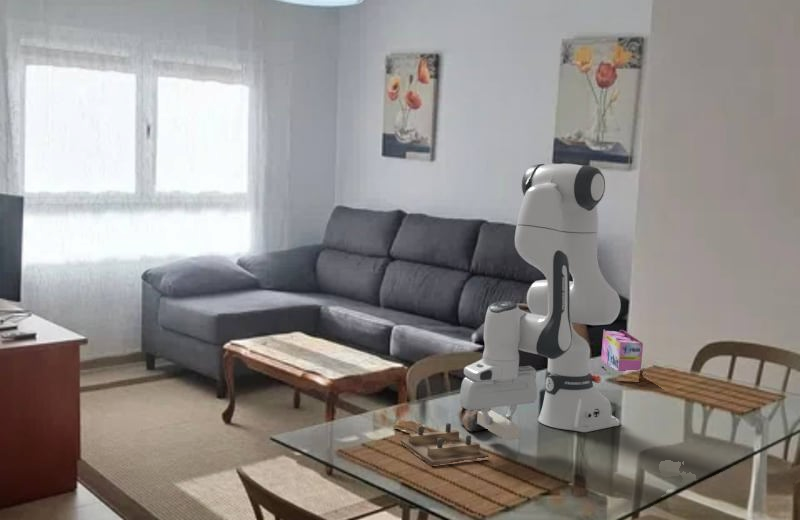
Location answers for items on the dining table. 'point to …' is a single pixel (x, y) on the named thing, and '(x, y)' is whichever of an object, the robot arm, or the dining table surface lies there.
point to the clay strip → (500, 426)
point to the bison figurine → (470, 419)
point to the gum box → (621, 350)
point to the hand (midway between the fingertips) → (497, 423)
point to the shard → (407, 425)
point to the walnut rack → (443, 446)
